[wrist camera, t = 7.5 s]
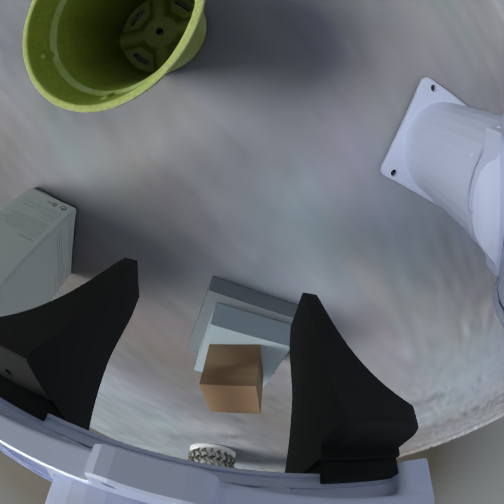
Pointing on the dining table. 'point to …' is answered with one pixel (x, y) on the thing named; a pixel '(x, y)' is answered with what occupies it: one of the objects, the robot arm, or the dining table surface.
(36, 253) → the skincare box
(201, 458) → the decorative candle
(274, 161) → the dining table surface
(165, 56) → the plant pot
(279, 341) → the top slab
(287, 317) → the base slab
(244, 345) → the walnut cube
